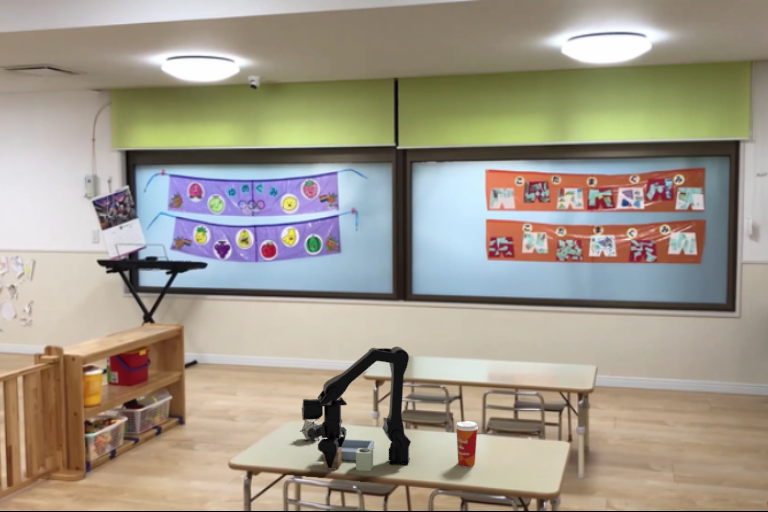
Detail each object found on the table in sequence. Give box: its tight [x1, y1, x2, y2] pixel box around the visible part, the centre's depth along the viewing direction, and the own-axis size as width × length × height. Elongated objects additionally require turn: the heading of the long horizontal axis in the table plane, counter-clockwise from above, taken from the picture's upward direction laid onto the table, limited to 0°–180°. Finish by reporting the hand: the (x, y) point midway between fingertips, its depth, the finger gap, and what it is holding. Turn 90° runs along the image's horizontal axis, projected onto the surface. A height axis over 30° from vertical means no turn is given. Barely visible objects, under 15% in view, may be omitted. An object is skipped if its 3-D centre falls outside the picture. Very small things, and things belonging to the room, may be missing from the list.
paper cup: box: [455, 420, 479, 468], centre depth 260 cm, size 8×8×14 cm
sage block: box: [355, 448, 374, 472], centre depth 256 cm, size 5×5×6 cm
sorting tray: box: [322, 438, 375, 462], centre depth 271 cm, size 16×14×3 cm
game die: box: [299, 419, 321, 442], centre depth 287 cm, size 9×8×10 cm
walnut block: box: [323, 447, 342, 470], centre depth 258 cm, size 5×5×6 cm
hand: (332, 463), depth 258 cm, fingers open, 9 cm apart
